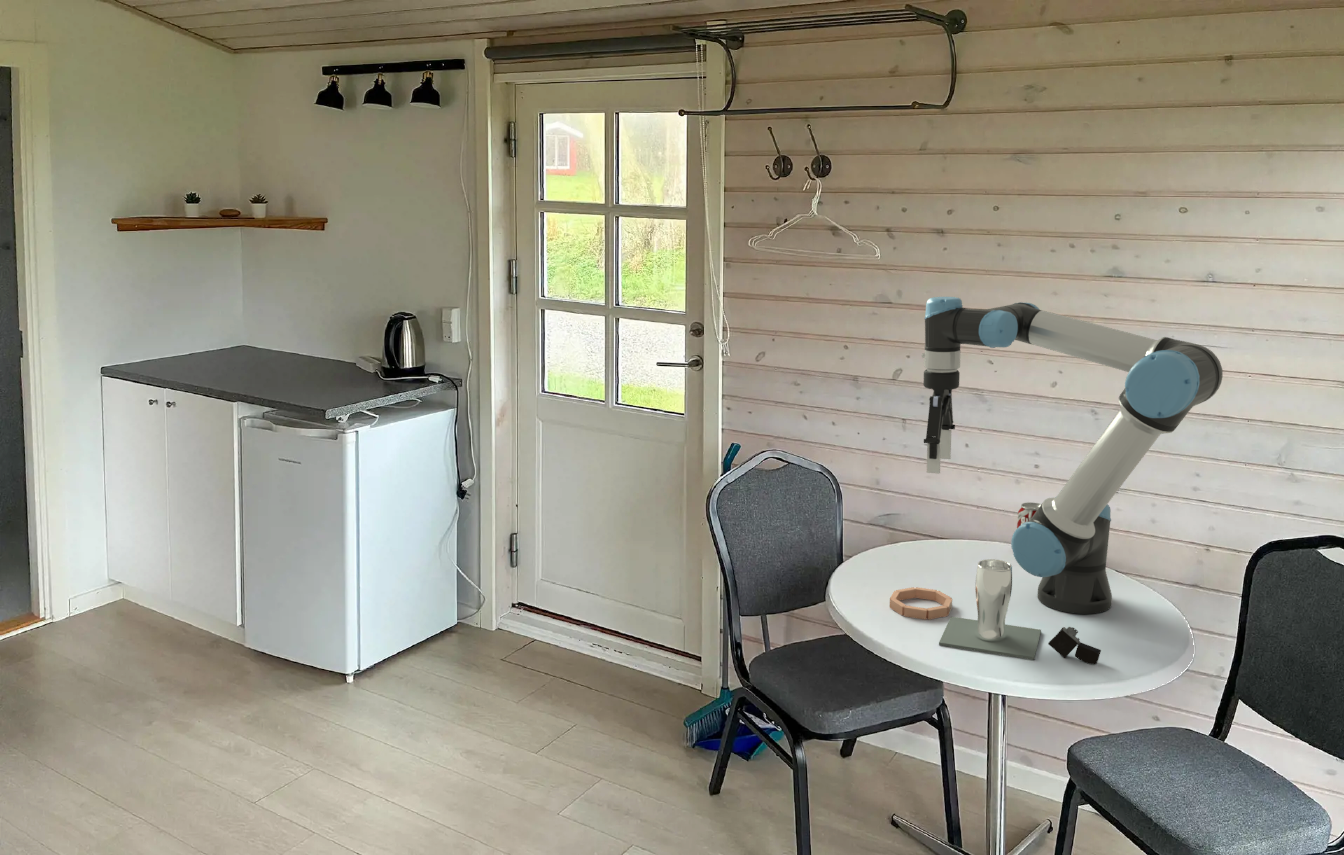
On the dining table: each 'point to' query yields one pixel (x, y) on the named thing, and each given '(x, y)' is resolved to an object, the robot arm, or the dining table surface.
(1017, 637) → the mat
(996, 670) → the dining table surface
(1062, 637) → the lighter
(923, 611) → the coaster ring
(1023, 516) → the soda can
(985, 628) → the beer glass
